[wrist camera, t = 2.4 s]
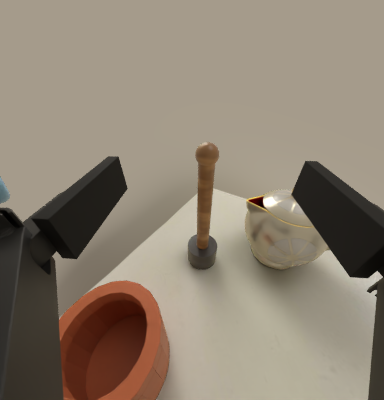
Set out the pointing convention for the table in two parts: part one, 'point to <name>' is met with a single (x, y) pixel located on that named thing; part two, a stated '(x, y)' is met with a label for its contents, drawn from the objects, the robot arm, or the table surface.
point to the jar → (113, 345)
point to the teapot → (281, 231)
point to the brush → (204, 209)
